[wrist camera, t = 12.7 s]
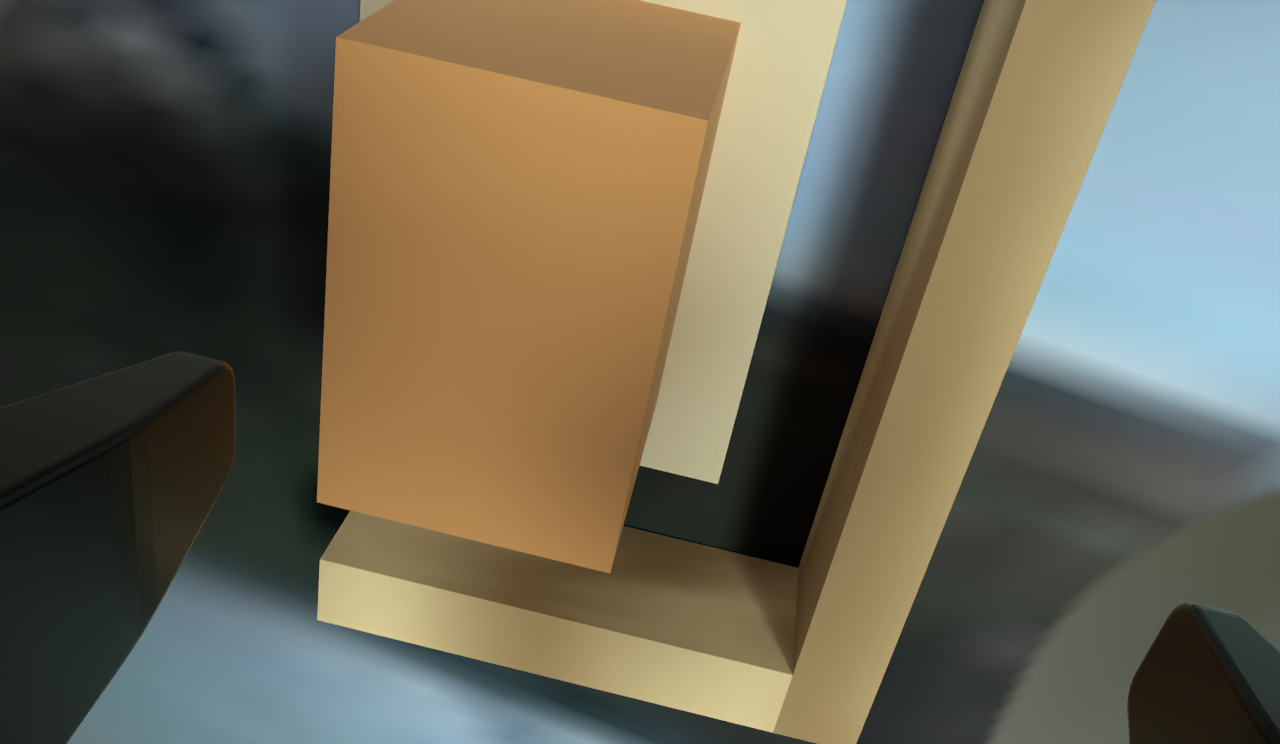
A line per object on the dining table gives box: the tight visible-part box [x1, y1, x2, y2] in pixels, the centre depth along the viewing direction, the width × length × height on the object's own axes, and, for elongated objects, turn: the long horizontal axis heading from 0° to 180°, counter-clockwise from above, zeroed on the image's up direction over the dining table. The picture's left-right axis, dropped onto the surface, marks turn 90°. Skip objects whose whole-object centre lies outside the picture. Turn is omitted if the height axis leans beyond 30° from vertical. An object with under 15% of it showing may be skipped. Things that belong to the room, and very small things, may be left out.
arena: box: [317, 0, 1155, 744], centre depth 19 cm, size 10×16×3 cm, turn 170°
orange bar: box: [317, 0, 741, 573], centre depth 17 cm, size 7×4×5 cm, turn 170°
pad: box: [360, 0, 847, 484], centre depth 20 cm, size 8×10×1 cm
